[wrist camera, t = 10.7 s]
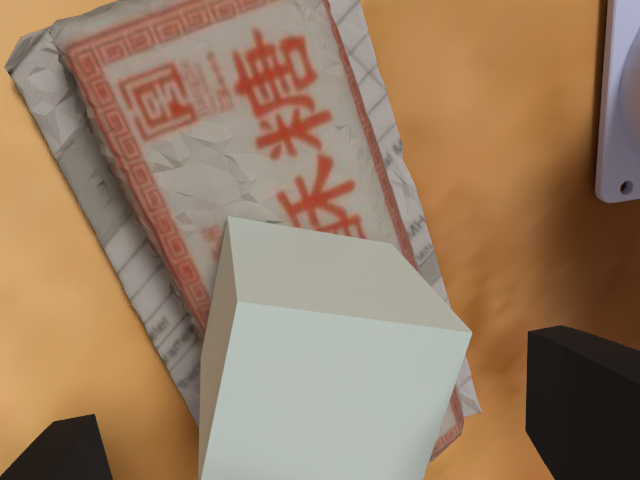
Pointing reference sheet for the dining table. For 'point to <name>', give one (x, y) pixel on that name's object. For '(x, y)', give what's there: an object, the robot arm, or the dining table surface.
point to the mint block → (322, 359)
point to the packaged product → (222, 148)
